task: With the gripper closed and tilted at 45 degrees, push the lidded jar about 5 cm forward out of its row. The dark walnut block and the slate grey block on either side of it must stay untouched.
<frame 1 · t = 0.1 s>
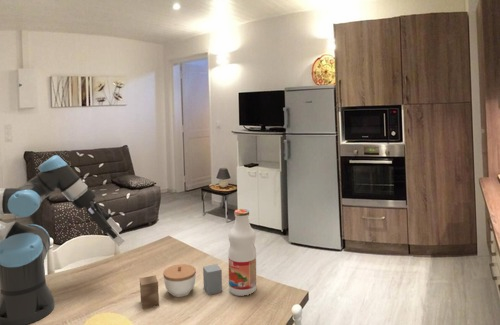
hand: (120, 237, 129), 15 cm above the table, tool tilted 35°, fingers open, 13 cm apart
lidded jar: (180, 292, 120), on the table
fruit juice: (242, 290, 121), on the table
grey block: (212, 290, 121), on the table
walnut block: (149, 303, 113), on the table
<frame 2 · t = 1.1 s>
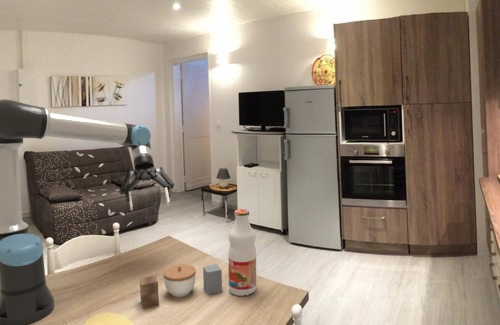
hand: (150, 206, 130), 26 cm above the table, tool tilted 45°, fingers open, 12 cm apart
nothing on the table moved.
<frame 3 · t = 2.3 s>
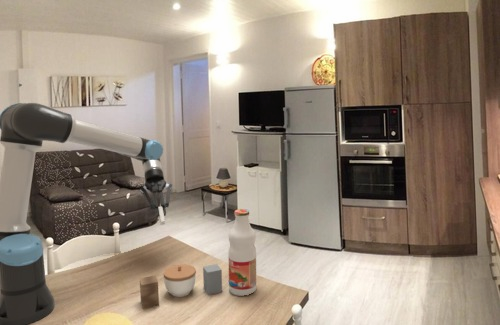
hand: (162, 223, 135), 19 cm above the table, tool tilted 45°, fingers closed
nothing on the table moved.
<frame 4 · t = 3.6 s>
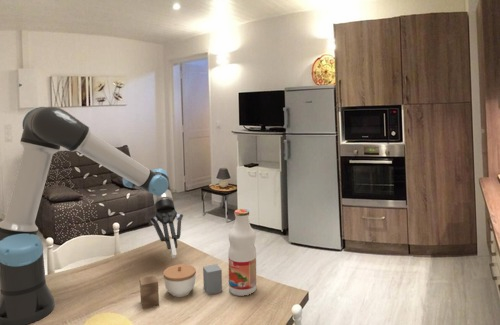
hand: (174, 256, 133), 7 cm above the table, tool tilted 45°, fingers closed
nothing on the table moved.
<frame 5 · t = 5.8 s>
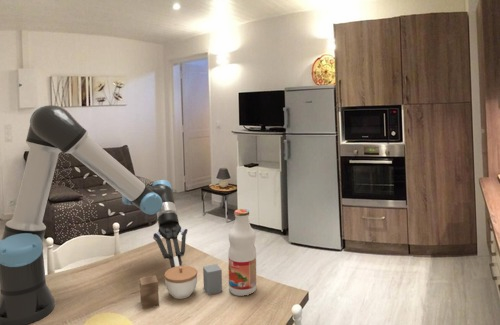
hand: (178, 275, 124), 4 cm above the table, tool tilted 45°, fingers closed
lidded jar: (181, 294, 119), on the table, touching gripper
everything else where it was.
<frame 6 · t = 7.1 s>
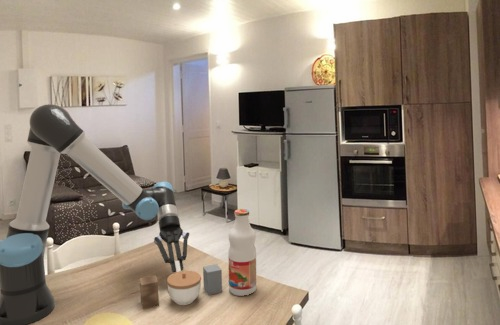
hand: (179, 280, 120), 4 cm above the table, tool tilted 45°, fingers closed
lidded jar: (184, 300, 115), on the table, touching gripper
everything else where it was.
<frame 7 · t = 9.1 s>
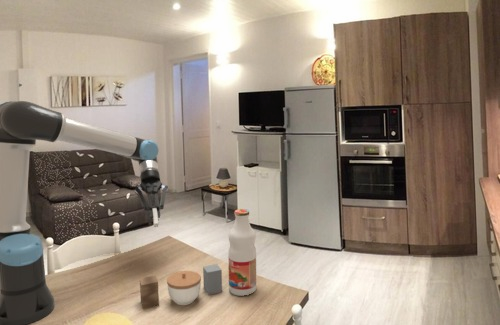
hand: (156, 225, 131), 19 cm above the table, tool tilted 45°, fingers closed
lidded jar: (184, 301, 115), on the table
everything else where it was.
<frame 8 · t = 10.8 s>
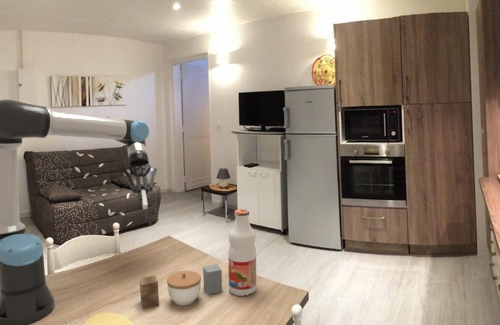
hand: (145, 206, 131), 26 cm above the table, tool tilted 45°, fingers closed
nothing on the table moved.
at the end: lidded jar inside the target area (0.3 cm from its centre), on the table; walnut block moved 0.1 cm from its start; grey block moved 0.1 cm from its start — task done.
